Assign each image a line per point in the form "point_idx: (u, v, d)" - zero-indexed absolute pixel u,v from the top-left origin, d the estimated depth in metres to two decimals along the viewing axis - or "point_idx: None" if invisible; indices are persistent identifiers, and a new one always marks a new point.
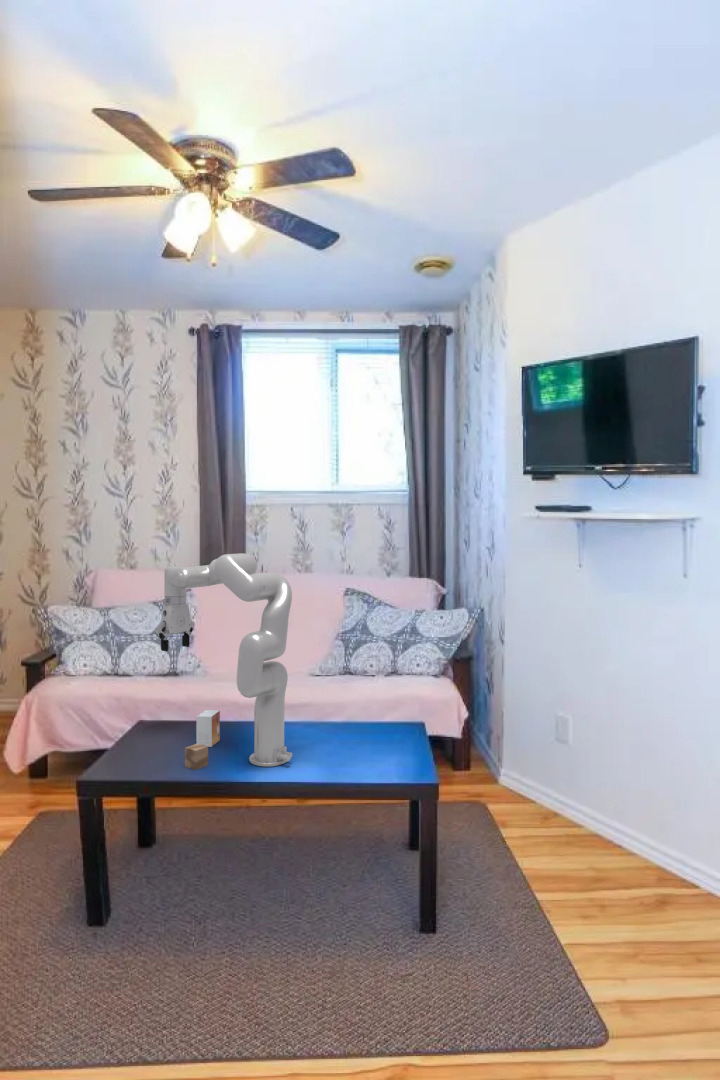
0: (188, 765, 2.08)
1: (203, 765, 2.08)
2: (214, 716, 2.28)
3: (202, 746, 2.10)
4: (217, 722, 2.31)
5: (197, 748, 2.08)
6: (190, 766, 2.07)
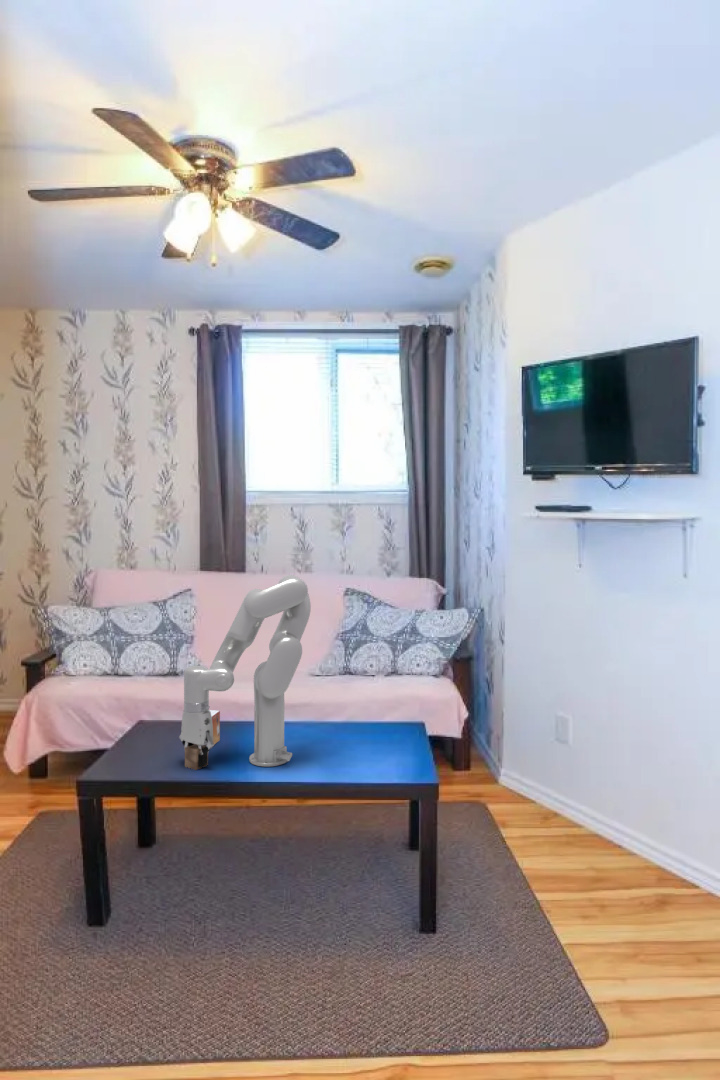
0: (188, 765, 2.08)
1: None
2: (214, 716, 2.28)
3: (202, 746, 2.10)
4: (217, 722, 2.31)
5: (197, 748, 2.08)
6: (190, 766, 2.07)
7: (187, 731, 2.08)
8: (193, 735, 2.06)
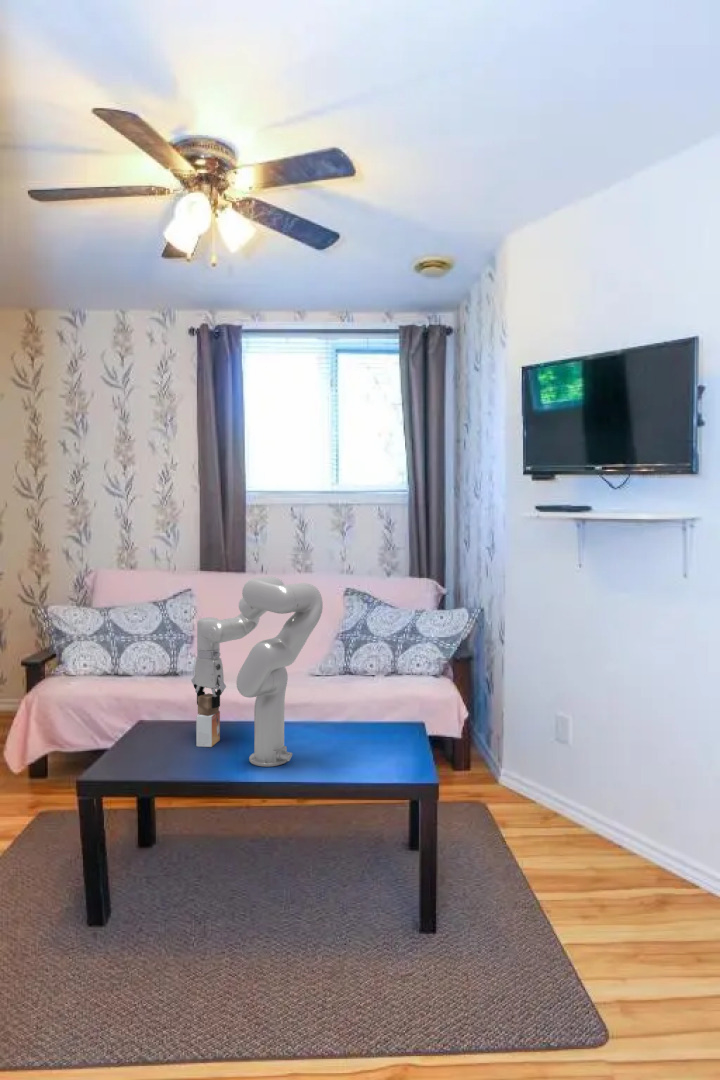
0: (201, 712, 2.29)
1: (214, 712, 2.29)
2: (214, 716, 2.28)
3: None
4: (217, 722, 2.31)
5: (209, 696, 2.29)
6: (202, 712, 2.28)
7: (200, 676, 2.29)
8: (205, 679, 2.27)
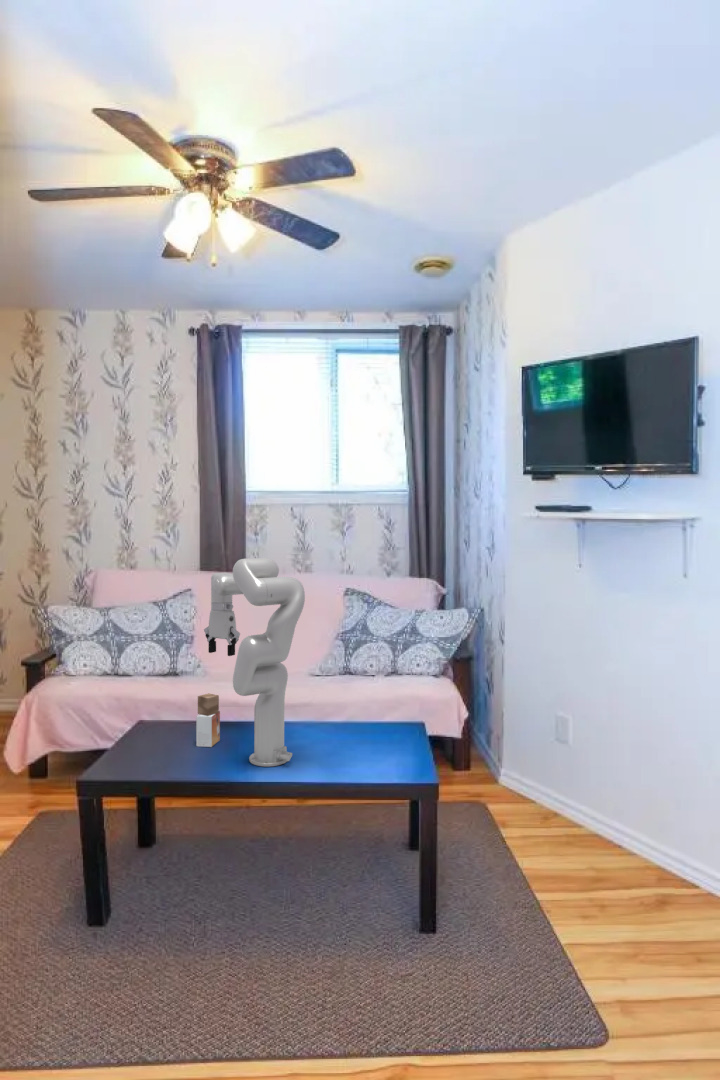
0: (200, 712, 2.29)
1: (214, 712, 2.29)
2: (214, 716, 2.28)
3: (213, 695, 2.31)
4: (217, 722, 2.31)
5: (209, 696, 2.29)
6: (202, 712, 2.28)
7: (213, 628, 2.42)
8: (219, 630, 2.40)
